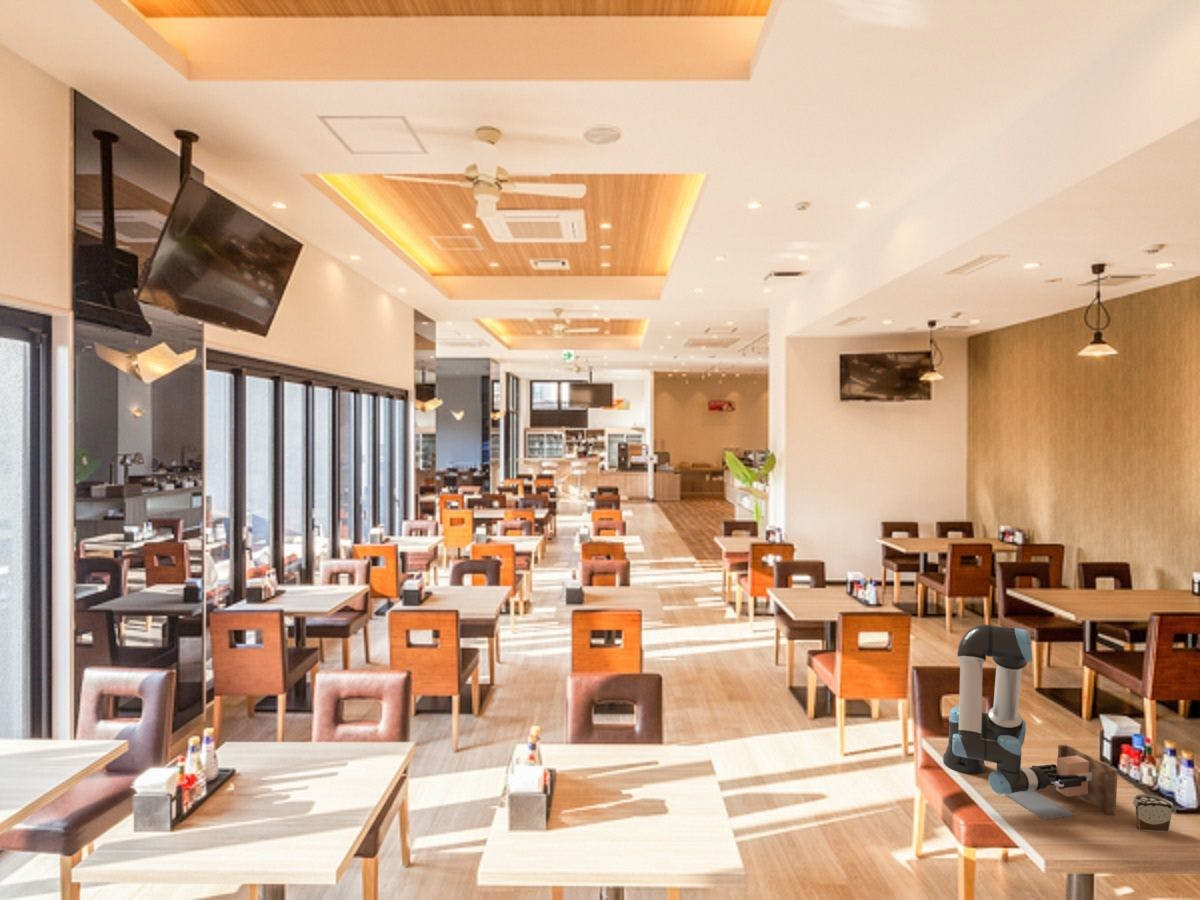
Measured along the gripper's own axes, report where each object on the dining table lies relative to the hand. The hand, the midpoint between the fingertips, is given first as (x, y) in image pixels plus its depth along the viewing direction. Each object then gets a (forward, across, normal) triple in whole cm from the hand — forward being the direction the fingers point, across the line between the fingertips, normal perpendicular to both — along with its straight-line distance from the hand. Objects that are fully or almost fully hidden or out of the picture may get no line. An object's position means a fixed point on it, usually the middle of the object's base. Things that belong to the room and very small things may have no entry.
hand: (1084, 772), depth 281 cm
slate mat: (-19, 0, -10) cm, 22 cm away
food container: (+7, +20, -10) cm, 23 cm away
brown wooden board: (+1, 0, -10) cm, 10 cm away
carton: (-5, 0, -7) cm, 8 cm away
